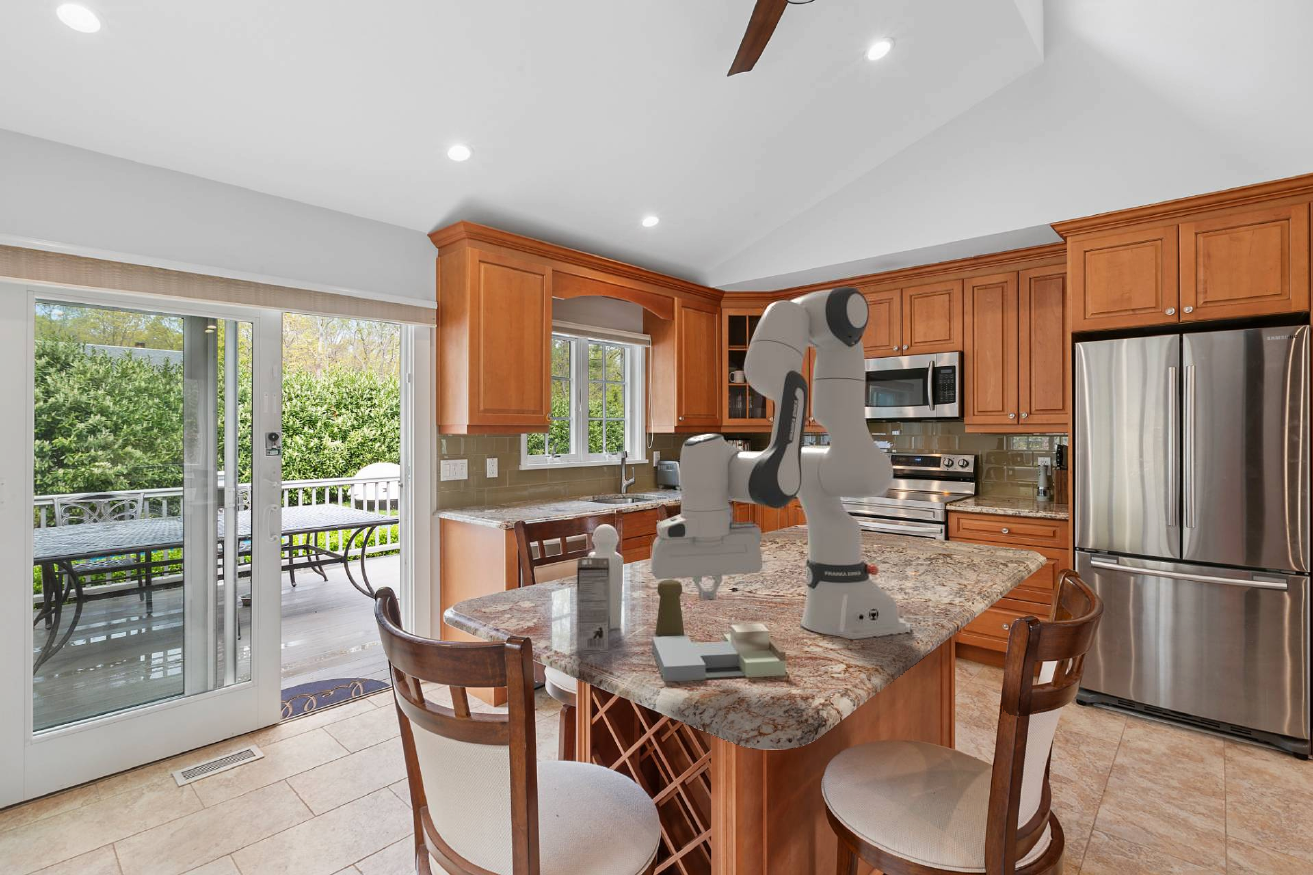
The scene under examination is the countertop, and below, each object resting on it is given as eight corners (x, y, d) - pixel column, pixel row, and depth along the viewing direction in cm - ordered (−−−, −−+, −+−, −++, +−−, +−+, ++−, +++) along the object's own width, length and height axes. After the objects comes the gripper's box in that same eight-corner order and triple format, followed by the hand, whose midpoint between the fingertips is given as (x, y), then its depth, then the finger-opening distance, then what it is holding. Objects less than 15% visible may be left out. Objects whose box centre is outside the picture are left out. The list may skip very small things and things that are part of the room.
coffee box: (578, 636, 132) (578, 557, 132) (609, 635, 132) (609, 557, 132) (576, 650, 122) (576, 566, 122) (609, 649, 123) (609, 565, 123)
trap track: (758, 645, 126) (758, 624, 126) (785, 675, 110) (785, 651, 110) (652, 650, 123) (652, 629, 123) (664, 681, 107) (664, 657, 107)
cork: (681, 638, 130) (681, 584, 130) (652, 636, 131) (652, 583, 131) (686, 629, 136) (686, 578, 136) (658, 628, 137) (658, 576, 137)
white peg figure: (623, 628, 136) (623, 525, 136) (593, 631, 134) (593, 527, 134) (616, 620, 143) (616, 521, 143) (587, 623, 141) (587, 523, 141)
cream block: (761, 642, 120) (761, 623, 120) (769, 650, 115) (769, 630, 115) (730, 643, 119) (730, 624, 119) (736, 651, 114) (736, 632, 114)
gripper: (756, 518, 121) (758, 591, 121) (648, 524, 118) (650, 598, 118) (766, 523, 114) (768, 600, 115) (652, 529, 112) (655, 608, 112)
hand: (707, 599), depth 116 cm, fingers closed
